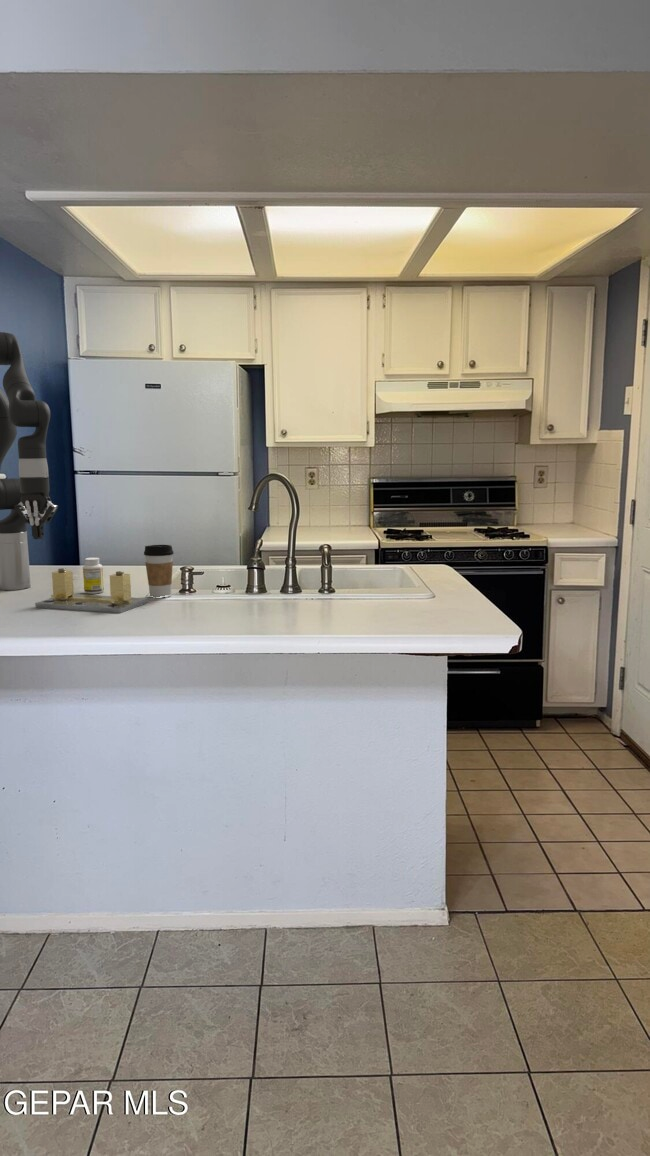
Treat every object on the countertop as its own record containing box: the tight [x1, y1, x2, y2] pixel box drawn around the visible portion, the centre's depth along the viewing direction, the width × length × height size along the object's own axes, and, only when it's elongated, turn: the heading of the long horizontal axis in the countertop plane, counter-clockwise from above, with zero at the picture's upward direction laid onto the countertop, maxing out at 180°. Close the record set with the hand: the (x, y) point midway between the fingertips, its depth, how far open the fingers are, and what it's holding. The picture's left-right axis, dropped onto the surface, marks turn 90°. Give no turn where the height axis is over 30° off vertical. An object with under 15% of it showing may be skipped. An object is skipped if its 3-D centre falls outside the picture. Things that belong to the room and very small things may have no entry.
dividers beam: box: [63, 570, 133, 605], centre depth 208 cm, size 24×6×8 cm, turn 73°
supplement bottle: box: [82, 557, 105, 595], centre depth 227 cm, size 6×6×10 cm
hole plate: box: [34, 593, 149, 614], centre depth 210 cm, size 26×14×1 cm, turn 73°
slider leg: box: [50, 567, 75, 601], centre depth 211 cm, size 4×6×8 cm, turn 163°
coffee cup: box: [143, 544, 175, 597], centre depth 221 cm, size 8×8×15 cm
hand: (38, 538), depth 212 cm, fingers closed
